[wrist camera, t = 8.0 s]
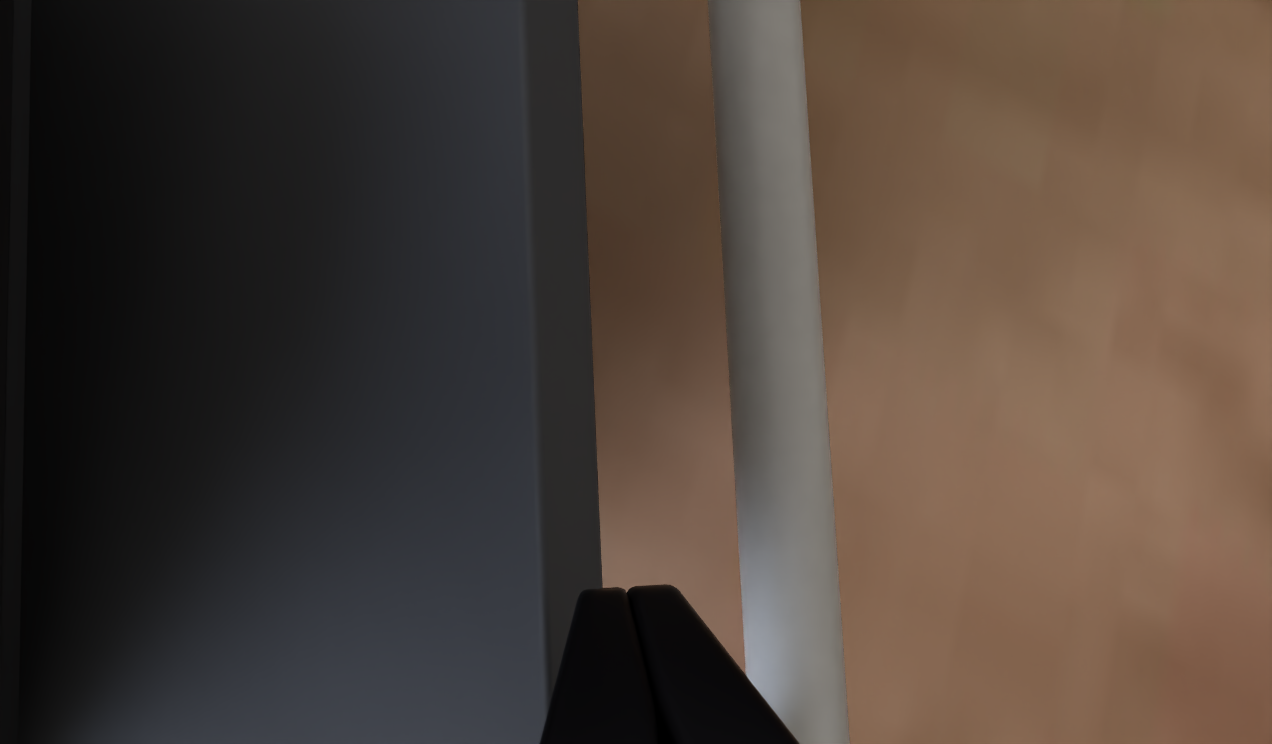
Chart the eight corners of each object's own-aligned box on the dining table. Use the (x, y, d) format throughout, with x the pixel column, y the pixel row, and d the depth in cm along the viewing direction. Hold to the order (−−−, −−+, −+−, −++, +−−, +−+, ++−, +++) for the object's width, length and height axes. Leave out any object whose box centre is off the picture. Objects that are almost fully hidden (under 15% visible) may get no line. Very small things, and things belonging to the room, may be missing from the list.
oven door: (375, 34, 24) (834, -175, 18) (390, 750, 23) (906, 825, 16) (30, -93, 19) (506, -470, 12) (13, 842, 17) (559, 1019, 10)
